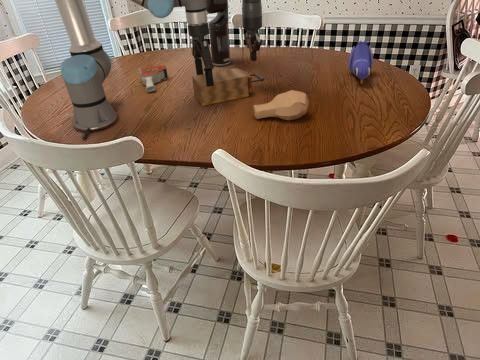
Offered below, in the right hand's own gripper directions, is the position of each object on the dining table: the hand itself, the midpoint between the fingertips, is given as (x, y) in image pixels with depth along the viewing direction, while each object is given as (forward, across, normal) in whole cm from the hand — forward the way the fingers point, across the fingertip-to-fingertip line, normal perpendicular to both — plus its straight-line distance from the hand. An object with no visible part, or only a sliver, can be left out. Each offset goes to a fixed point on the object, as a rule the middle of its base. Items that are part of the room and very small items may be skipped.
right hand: (253, 60), depth 144 cm
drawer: (+11, 0, +10) cm, 15 cm away
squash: (+12, -29, +2) cm, 31 cm away
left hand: (+4, 0, +21) cm, 22 cm away
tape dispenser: (+12, +29, +39) cm, 50 cm away
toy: (+12, -12, -45) cm, 48 cm away
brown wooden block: (+12, 0, +15) cm, 19 cm away
